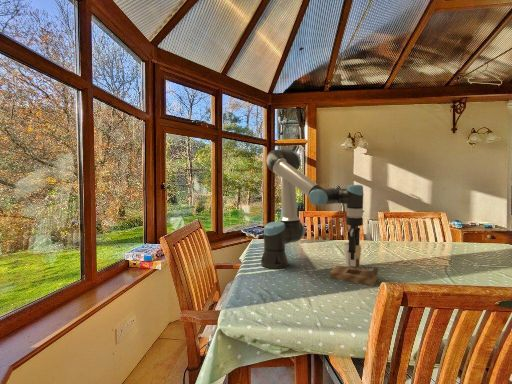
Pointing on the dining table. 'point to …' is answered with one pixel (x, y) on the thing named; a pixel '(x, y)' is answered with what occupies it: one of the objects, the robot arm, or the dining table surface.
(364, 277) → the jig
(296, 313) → the dining table surface
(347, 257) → the cup
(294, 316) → the dining table surface
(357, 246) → the golden brass cylinder
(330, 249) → the dining table surface
